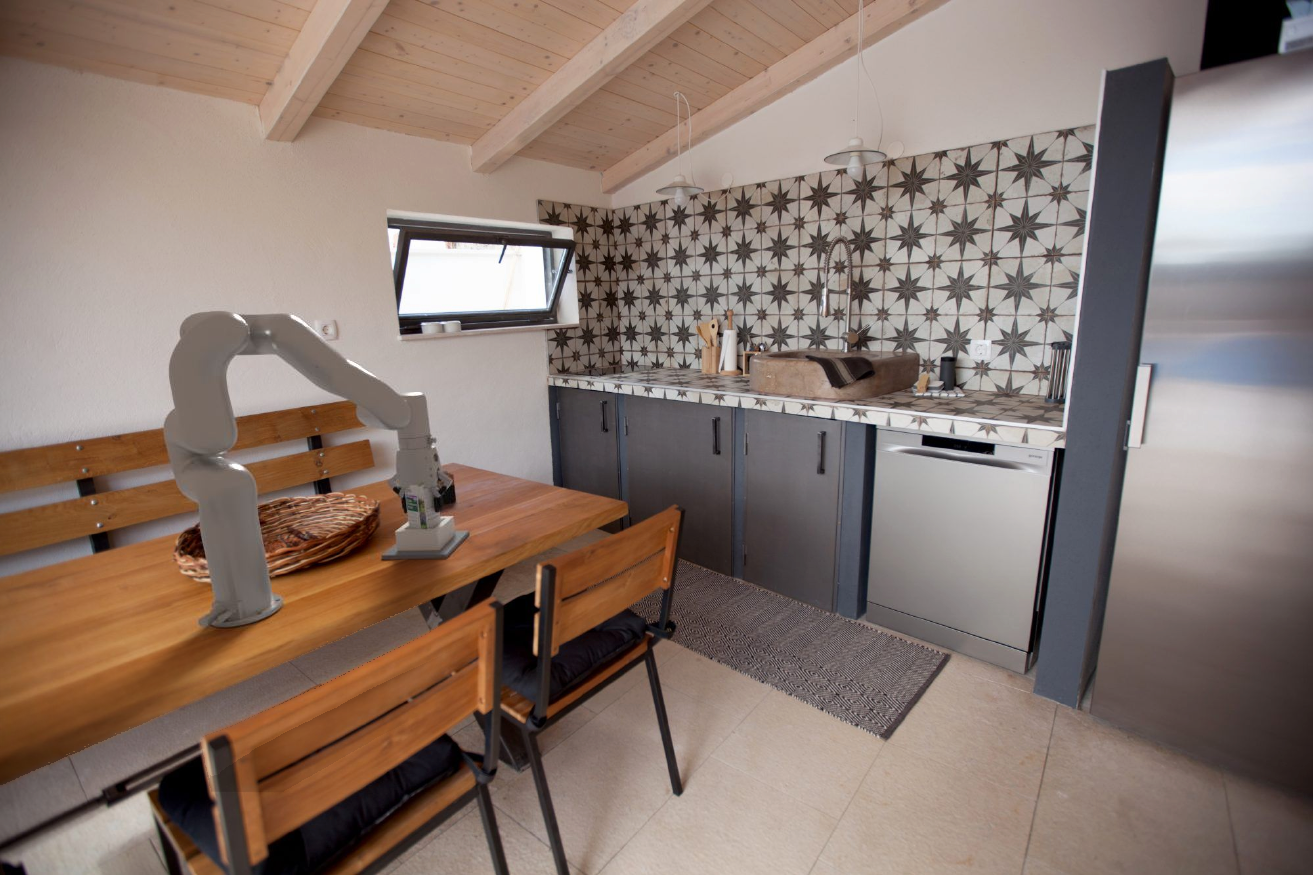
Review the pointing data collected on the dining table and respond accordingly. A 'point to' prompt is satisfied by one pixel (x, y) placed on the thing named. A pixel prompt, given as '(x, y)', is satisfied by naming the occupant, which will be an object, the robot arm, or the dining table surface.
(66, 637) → the dining table surface
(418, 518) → the syrup box
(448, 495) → the battery
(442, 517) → the socket
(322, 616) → the dining table surface
